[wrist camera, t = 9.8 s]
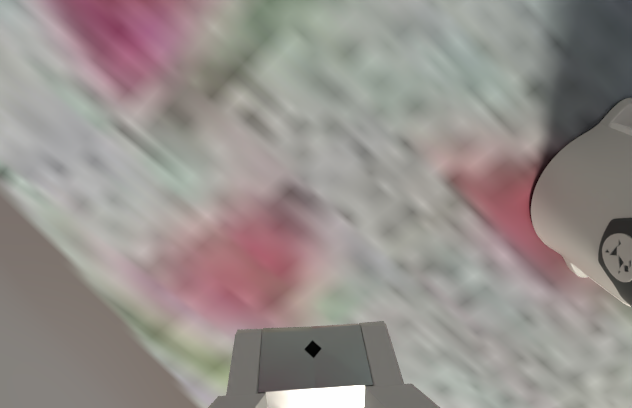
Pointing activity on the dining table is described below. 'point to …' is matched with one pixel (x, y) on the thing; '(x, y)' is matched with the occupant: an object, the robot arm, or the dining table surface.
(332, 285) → the dining table surface
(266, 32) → the dining table surface
